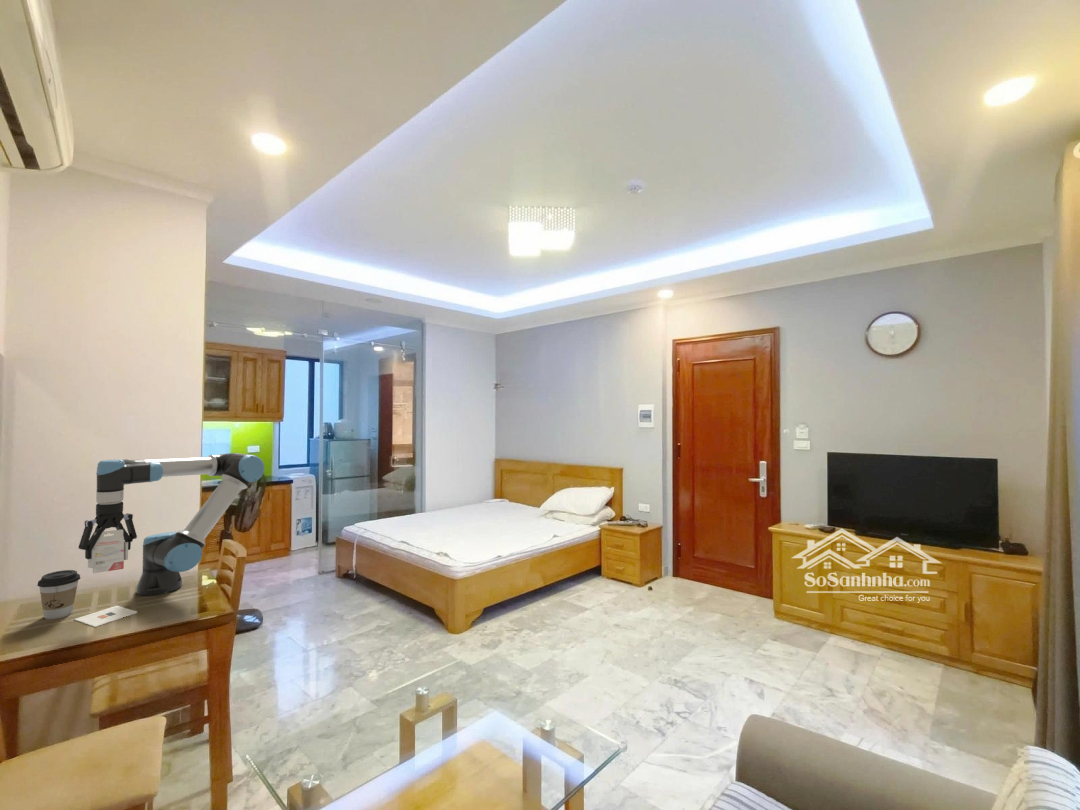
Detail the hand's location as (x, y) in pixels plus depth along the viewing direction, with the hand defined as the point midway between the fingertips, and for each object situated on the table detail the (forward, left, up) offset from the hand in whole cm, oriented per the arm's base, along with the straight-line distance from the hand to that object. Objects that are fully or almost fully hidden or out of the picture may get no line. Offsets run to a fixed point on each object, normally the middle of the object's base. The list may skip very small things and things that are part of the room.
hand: (108, 563), depth 178 cm
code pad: (0, 0, -19) cm, 19 cm away
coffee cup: (+7, -16, -20) cm, 26 cm away
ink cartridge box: (0, 0, -3) cm, 3 cm away
